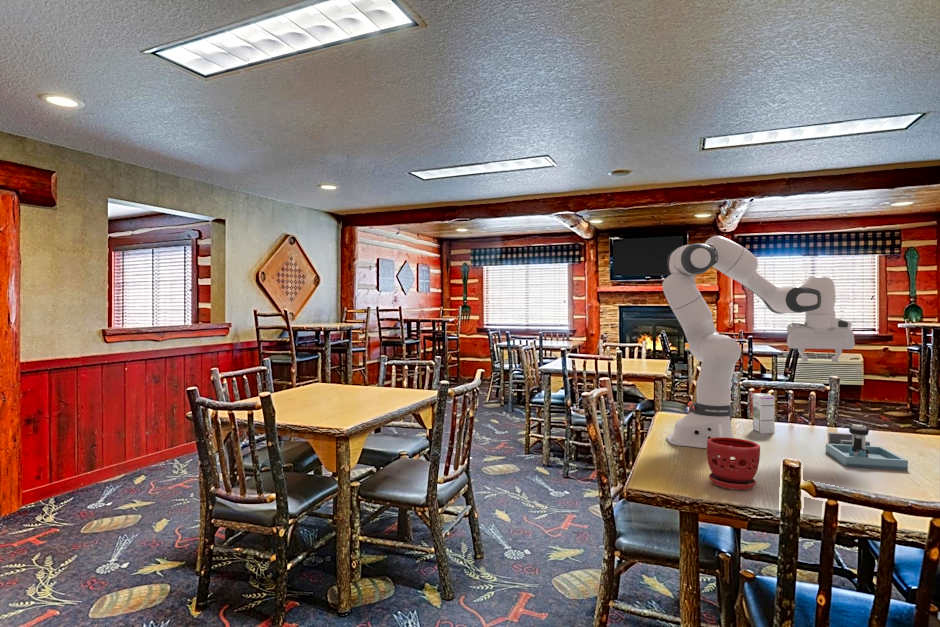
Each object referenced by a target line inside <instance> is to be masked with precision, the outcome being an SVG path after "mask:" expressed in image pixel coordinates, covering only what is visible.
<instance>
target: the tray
mask: <svg viewBox="0 0 940 627" xmlns="http://www.w3.org/2000/svg"><path fill="white" fill-rule="evenodd" d="M850 447H853V446H851V445H843V444H832V443H825V453H826V454H827V455H829V456H830V457H831V458H833V459H834V460H836V461H837V462H839V463H840V464H841V465H843V466H844V467H846V468H861V469H862V468H863V469H877V470H878V469H879V470H893V471H908V470H909V467H908V466H909V461H908V460H907V459H906V458H904V457H902V456H900V455H898V454H896V453H894V452H893V451H891V450H889V449H887V448H885V447H883V446H878V445H877V446H876V445H875V446H874V445H870V446H865V448H866V450H869V454H870V455H873V456H870V455H868V457H854V456H850V455H849V448H850Z"/></svg>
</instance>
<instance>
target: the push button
mask: <svg viewBox="0 0 940 627" xmlns="http://www.w3.org/2000/svg"><path fill="white" fill-rule="evenodd" d="M848 431H849V434H852V445H851V446H853V447H850V448H849V455H850V456H854V457H868V455H870V454H869V450H866V448H865V441H866V436H868V435H869V432H870V429H869V428H867V426H866V425H863V424H858V423H857V424H856V423H853V424H851V426H849V427H848ZM870 456H873V455H870Z"/></svg>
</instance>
